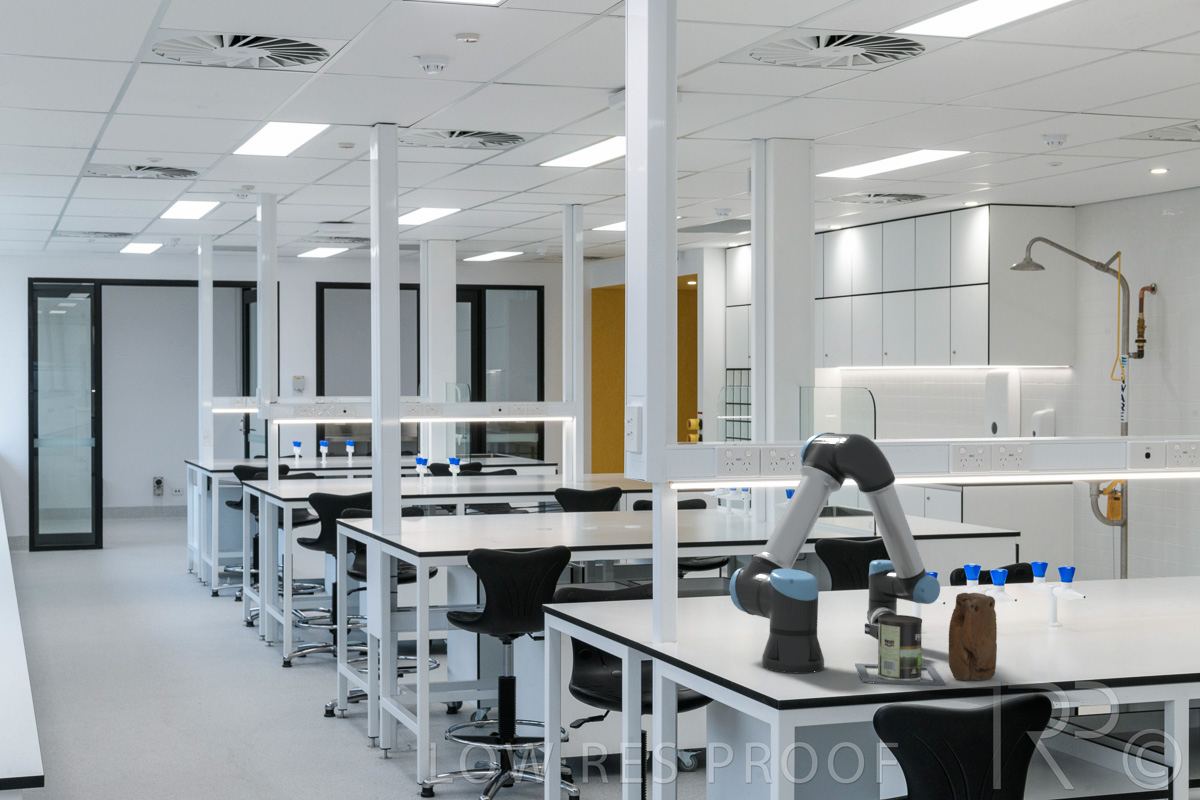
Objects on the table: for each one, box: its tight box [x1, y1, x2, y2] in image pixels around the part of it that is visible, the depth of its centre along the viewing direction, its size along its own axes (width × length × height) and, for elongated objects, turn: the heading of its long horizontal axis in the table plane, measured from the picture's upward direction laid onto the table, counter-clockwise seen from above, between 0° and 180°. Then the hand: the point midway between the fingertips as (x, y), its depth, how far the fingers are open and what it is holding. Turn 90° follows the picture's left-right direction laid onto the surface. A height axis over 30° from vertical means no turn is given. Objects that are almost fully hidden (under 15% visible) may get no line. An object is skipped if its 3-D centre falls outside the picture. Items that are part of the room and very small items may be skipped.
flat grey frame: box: [854, 663, 947, 687], centre depth 291 cm, size 19×19×1 cm
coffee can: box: [877, 614, 923, 681], centre depth 290 cm, size 10×10×14 cm
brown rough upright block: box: [948, 592, 998, 681], centre depth 289 cm, size 11×8×20 cm
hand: (896, 641), depth 299 cm, fingers closed
